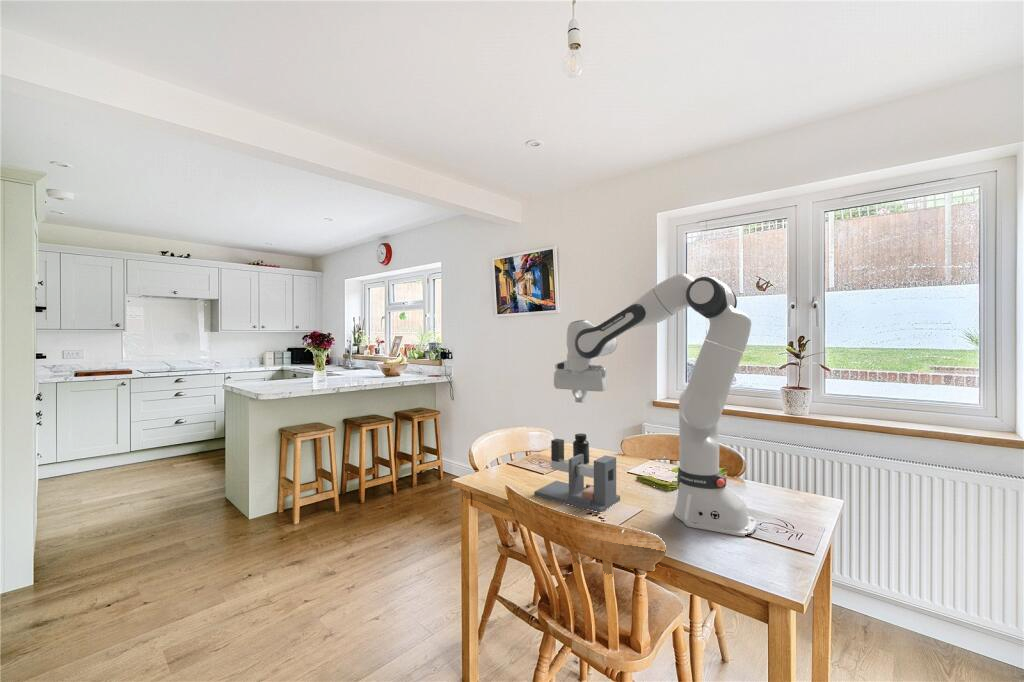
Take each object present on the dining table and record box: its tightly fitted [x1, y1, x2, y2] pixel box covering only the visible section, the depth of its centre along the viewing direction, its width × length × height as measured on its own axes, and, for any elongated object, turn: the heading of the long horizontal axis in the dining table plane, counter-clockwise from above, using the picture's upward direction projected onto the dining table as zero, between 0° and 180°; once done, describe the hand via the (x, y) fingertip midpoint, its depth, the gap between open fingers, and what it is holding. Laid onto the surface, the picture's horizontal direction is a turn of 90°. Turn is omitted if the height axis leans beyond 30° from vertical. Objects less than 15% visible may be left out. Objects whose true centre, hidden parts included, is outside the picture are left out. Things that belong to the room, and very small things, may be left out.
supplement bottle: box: [572, 433, 590, 465], centre depth 192 cm, size 7×7×12 cm
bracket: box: [534, 454, 621, 513], centre depth 151 cm, size 25×14×15 cm, turn 52°
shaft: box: [550, 438, 594, 479], centre depth 151 cm, size 19×4×10 cm, turn 52°
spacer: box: [582, 486, 594, 502], centre depth 148 cm, size 4×6×2 cm, turn 140°
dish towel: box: [636, 466, 728, 493], centre depth 172 cm, size 15×36×3 cm, turn 123°
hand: (579, 402), depth 164 cm, fingers closed
